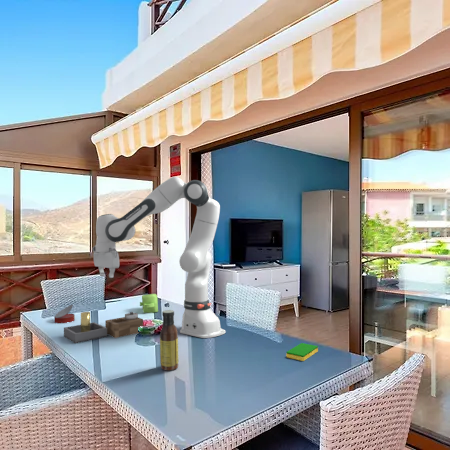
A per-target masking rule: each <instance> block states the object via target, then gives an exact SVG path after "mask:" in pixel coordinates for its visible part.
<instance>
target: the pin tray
mask: <svg viewBox="0 0 450 450" xmlns="http://www.w3.org/2000/svg"><path fill="white" fill-rule="evenodd" d="M63 337H64V338H65V339H67V340H68V341H70V342H71V343H73V344H75V345H76V344H80V343H85V342H89V341H95V340H98V339H104V338H107V337H108V334H107V328H106V327H105V326H104V325H101V324H99V323H97V322H94V321H93V322H90V331H86V332H81V324H77V325H71V326H66V327H63Z"/></svg>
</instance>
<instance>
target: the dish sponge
mask: <svg viewBox="0 0 450 450" xmlns="http://www.w3.org/2000/svg"><path fill="white" fill-rule="evenodd" d="M318 352H319V346H318V345H313V344H310V343H304V342H301V343H299V344H297V345H296V346H294V347H292V348H291V349H288V351H286V353H285V354H286V355H285V356H286V358H288V359H293V360H297V361H300V362H301V361H302V362H304V361H306V360H307V359H308V358H311V357H312V356H313V355H315V354H316V353H318Z"/></svg>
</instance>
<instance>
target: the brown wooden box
mask: <svg viewBox="0 0 450 450" xmlns="http://www.w3.org/2000/svg"><path fill="white" fill-rule="evenodd" d="M104 323H105V326H104V327H106V328H107V336H110V337H112V338H114V339H117V338H120V337H121V338H122V337H126V336H131V335H136V334H139V332H138V327H140V326H143V327H144V319H143V318H141V317H139V313H137V312H133V311H129V313H125V314H124V316H123V317H116V318H110V319H106V320H105V322H104Z"/></svg>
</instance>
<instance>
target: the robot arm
mask: <svg viewBox="0 0 450 450" xmlns="http://www.w3.org/2000/svg"><path fill="white" fill-rule="evenodd" d="M181 199H185V200H187V201H188V202H189V203H190V204H193V205H194V206H196V209H197V210H196V214H195V218H194V223H193V227H192V230H191V232H190V233H191V234H190V236H189V239H188V241H187V242H186V243H187V244H186V245H185V247H184V250H183V253H182V254H181V255H180V256H179V257H180V258H179V266H180V268H181V269H182V270H183V271H184V272H186V273H187V276H186V281H185V283H184V300H183V301H184V302H183V308H184V310H183V311H184V312H183V313H182V320H181V329H180V330H179V333H180V334H183V335H187V336H193V337H197V338H201V339H210V338H215V337H218V336H222V335H225V334H226V332H227V331H226V330H225V329H223V328H222V327H221V321H220V318H219V316H217V315H216V313H214V311H213V310H212V309H211V306H212V302H210V300H209V296H208V295H209V278H210V270H211V265H212V264H211V263H212V260H213V257H212V254H211V252H210V251H209V250H210V248H211V245H212V243H213V242H214V239H215V235H216V232H217V228H218V224H219V219H220V212H221V205H220V203H219V202H218V201H217V200H215V199H213V198H211V197H210V196H209V192H208V187H207V185H206V184H205V183H204V182H202V181H201V180H197V179H193V180H190V181H188V182H185V181H183V179H181V178H180V177H178V176H172V177H170V178H168V179H167V180H165V181H163V182H162V183H160V185H158V186H157V187H156V188H154V190H153V191H151V192H150V193H149V194H148V195H147V196H146V197H145V198H144V199H143V200H142V201H141V202H140V203H139V204H138V205H136V206H134V207H133V208H132V209H131V210H129V211H128V212H127V213H126V214H124V215H123V216H121V217H117V216H115V214H112V213H106V214H101V215H99V216H98V217H97V218H96V222H95V224H96V225H95V233H96V241H95V245H94V246H93V247H92V252H93V255H92V256H93V264H94V267H98V271H99V276H100V277H105V276H106V273H105V271H104V269H106V268H107V269H109V273H108V278H110V279H112V278H114V275H115V271H116V269H119V267H120V256H119V252H118V251H117V248H116V243H121V242H124V241H129V240H131V239H133V237H135V234H136V227H135V226H136V225H137V224H138V223H140V221H142V220H143V219H145V218H146V217H148V216H151V215H154V214H160V213H162V212H164V211H167V210H168V209H169V208H170V207H172V206H173V205H174V204H175V203H177V202H178V201H180V200H181Z"/></svg>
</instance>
